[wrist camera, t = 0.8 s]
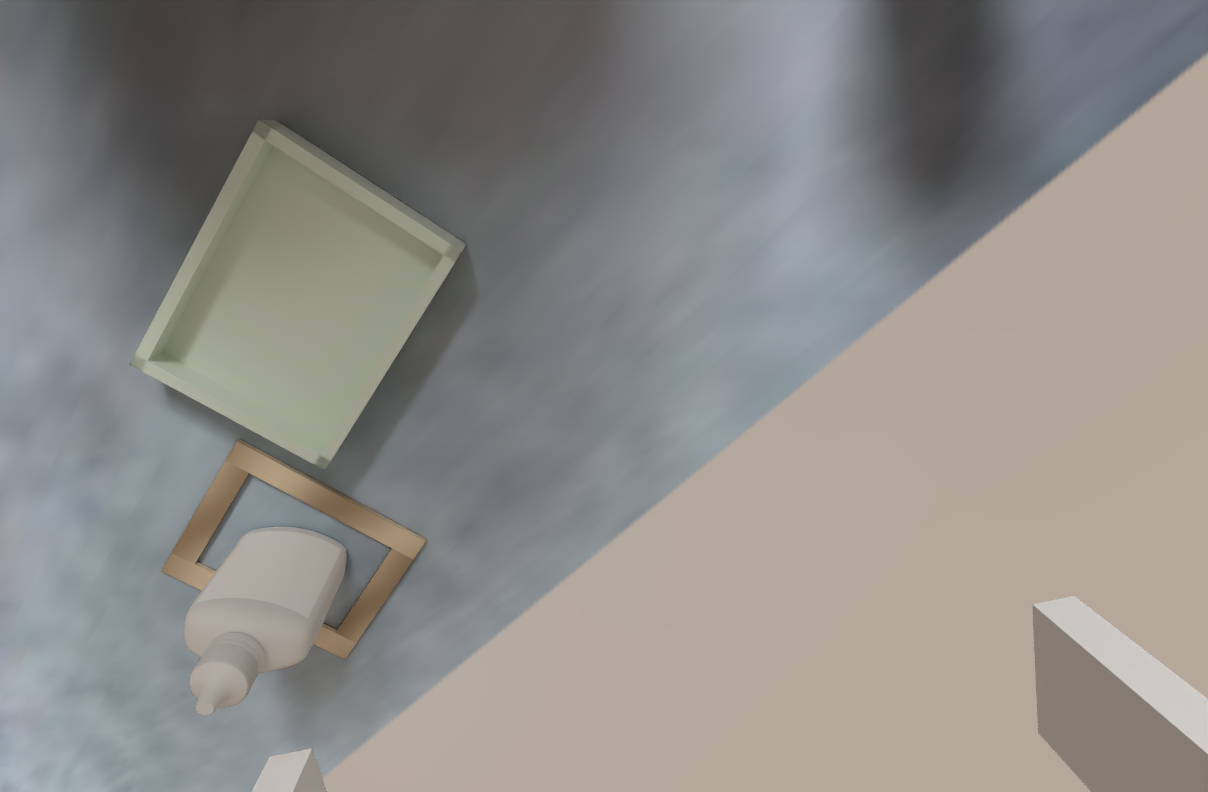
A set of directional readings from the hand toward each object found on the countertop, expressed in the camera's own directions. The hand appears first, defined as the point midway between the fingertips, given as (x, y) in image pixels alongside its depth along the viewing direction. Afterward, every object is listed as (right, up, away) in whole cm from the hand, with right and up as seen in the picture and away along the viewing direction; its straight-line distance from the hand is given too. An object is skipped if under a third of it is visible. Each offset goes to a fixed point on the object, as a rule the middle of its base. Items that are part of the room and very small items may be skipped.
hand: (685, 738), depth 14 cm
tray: (-16, +11, +24) cm, 31 cm away
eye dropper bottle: (-18, -2, +28) cm, 34 cm away
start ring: (-18, -2, +28) cm, 34 cm away
